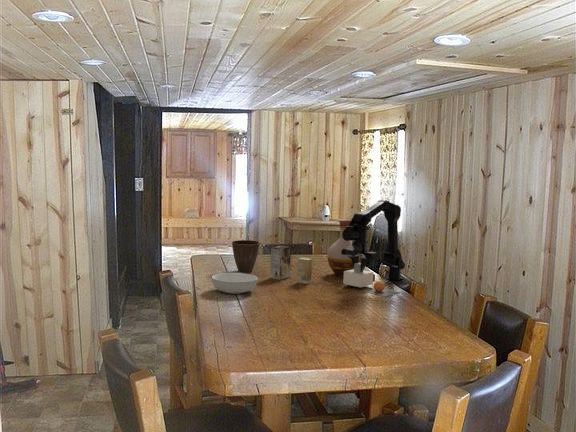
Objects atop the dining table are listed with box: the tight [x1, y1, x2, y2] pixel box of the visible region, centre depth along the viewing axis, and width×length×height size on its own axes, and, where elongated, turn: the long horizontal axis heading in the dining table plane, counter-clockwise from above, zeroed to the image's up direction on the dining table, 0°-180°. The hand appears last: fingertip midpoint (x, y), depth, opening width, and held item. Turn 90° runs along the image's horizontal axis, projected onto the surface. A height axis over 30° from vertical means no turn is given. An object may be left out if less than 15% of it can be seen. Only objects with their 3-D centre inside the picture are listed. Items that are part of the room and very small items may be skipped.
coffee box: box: [269, 245, 292, 281], centre depth 279 cm, size 9×6×16 cm
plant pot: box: [231, 239, 260, 274], centre depth 292 cm, size 15×15×16 cm
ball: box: [373, 281, 385, 292], centre depth 255 cm, size 5×5×5 cm
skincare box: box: [296, 257, 313, 285], centre depth 269 cm, size 6×4×12 cm
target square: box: [364, 288, 401, 298], centre depth 254 cm, size 12×12×1 cm
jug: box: [326, 219, 362, 278], centre depth 289 cm, size 20×18×30 cm
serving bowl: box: [211, 272, 259, 295], centre depth 246 cm, size 21×21×7 cm
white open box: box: [342, 262, 374, 288], centre depth 263 cm, size 10×10×10 cm
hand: (358, 271), depth 263 cm, fingers closed on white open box, 3 cm apart
